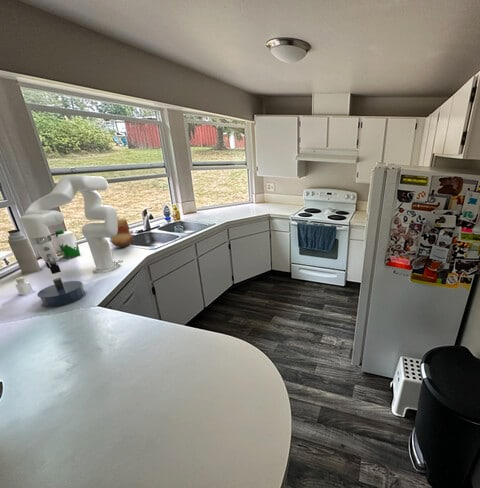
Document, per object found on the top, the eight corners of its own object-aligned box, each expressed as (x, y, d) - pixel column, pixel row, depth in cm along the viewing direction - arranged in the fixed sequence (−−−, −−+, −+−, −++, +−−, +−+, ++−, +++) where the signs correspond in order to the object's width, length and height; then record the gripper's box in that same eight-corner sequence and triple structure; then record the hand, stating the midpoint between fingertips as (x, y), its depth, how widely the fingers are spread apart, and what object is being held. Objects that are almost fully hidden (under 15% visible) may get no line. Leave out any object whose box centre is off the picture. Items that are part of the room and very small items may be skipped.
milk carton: (62, 256, 184) (52, 230, 177) (78, 252, 191) (69, 227, 184) (66, 259, 179) (56, 232, 172) (82, 255, 186) (73, 229, 179)
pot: (80, 288, 143) (77, 279, 141) (88, 297, 135) (85, 287, 133) (41, 300, 132) (36, 290, 129) (47, 311, 123) (42, 300, 121)
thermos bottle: (37, 267, 166) (20, 227, 156) (43, 270, 163) (26, 229, 153) (20, 272, 159) (1, 231, 149) (25, 275, 156) (6, 233, 146)
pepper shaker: (28, 291, 139) (21, 276, 136) (34, 291, 139) (27, 276, 136) (19, 295, 135) (11, 279, 132) (25, 295, 135) (18, 280, 132)
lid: (78, 279, 142) (74, 269, 140) (86, 289, 133) (82, 278, 131) (35, 291, 129) (30, 280, 127) (41, 303, 120) (36, 291, 118)
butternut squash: (117, 250, 196) (108, 220, 187) (110, 247, 202) (101, 217, 194) (137, 245, 207) (130, 216, 198) (130, 242, 213) (123, 214, 205)
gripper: (55, 241, 121) (68, 272, 128) (47, 233, 130) (60, 262, 137) (33, 245, 116) (47, 278, 122) (26, 237, 125) (40, 267, 131)
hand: (54, 269), depth 129 cm, fingers open, 9 cm apart
